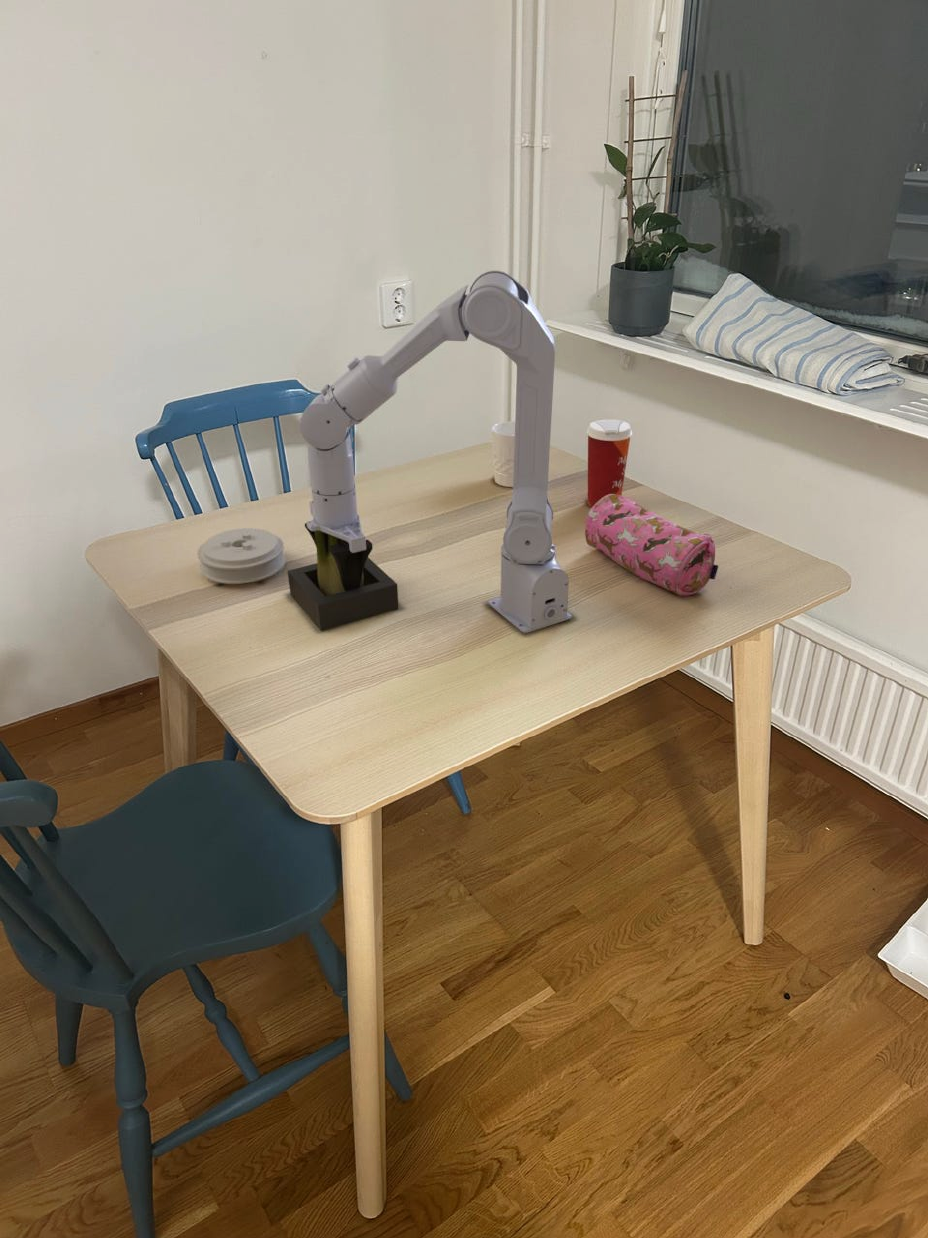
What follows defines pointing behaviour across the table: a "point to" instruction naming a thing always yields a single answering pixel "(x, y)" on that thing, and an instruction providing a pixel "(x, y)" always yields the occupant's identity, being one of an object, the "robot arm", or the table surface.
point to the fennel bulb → (328, 566)
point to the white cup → (503, 452)
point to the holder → (343, 596)
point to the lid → (241, 556)
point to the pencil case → (651, 545)
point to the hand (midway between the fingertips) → (341, 578)
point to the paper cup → (607, 457)
